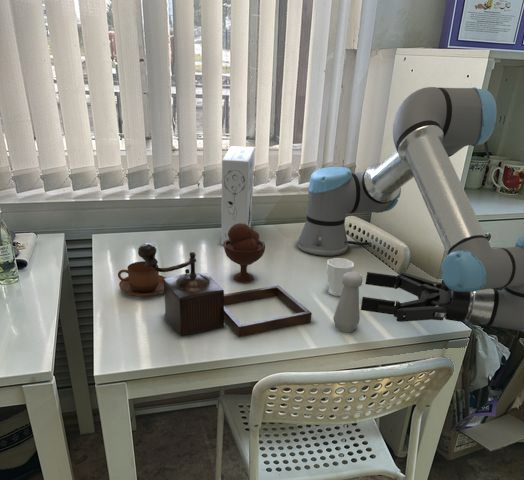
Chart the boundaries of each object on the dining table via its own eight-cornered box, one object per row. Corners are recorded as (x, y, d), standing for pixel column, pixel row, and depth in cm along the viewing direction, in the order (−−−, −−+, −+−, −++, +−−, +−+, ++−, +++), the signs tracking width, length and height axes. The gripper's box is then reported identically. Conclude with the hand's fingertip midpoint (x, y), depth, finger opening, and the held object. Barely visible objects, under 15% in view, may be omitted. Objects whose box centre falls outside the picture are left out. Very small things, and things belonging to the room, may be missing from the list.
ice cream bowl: (259, 289, 132) (262, 231, 124) (217, 283, 133) (217, 227, 126) (267, 273, 141) (270, 219, 133) (228, 268, 142) (228, 214, 135)
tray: (277, 294, 130) (278, 285, 128) (310, 322, 118) (311, 312, 116) (210, 305, 122) (210, 296, 121) (238, 337, 110) (239, 326, 109)
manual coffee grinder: (206, 307, 122) (205, 233, 112) (225, 328, 113) (226, 250, 104) (141, 319, 115) (134, 241, 106) (156, 342, 107) (151, 260, 98)
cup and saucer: (124, 303, 121) (121, 279, 118) (116, 283, 131) (114, 260, 128) (174, 297, 125) (173, 273, 122) (163, 278, 135) (162, 255, 132)
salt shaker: (341, 336, 113) (348, 281, 106) (327, 324, 117) (334, 270, 110) (363, 331, 115) (372, 277, 108) (349, 320, 119) (356, 267, 113)
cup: (329, 299, 128) (333, 269, 124) (314, 283, 137) (317, 254, 132) (355, 297, 130) (359, 267, 126) (338, 281, 138) (342, 252, 134)
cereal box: (245, 246, 158) (248, 161, 145) (221, 244, 158) (221, 159, 145) (251, 224, 176) (254, 147, 163) (229, 223, 177) (230, 145, 164)
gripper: (468, 349, 98) (356, 332, 102) (457, 296, 119) (365, 283, 123) (478, 314, 95) (362, 298, 98) (465, 265, 115) (370, 253, 119)
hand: (363, 290), depth 111 cm, fingers open, 13 cm apart
